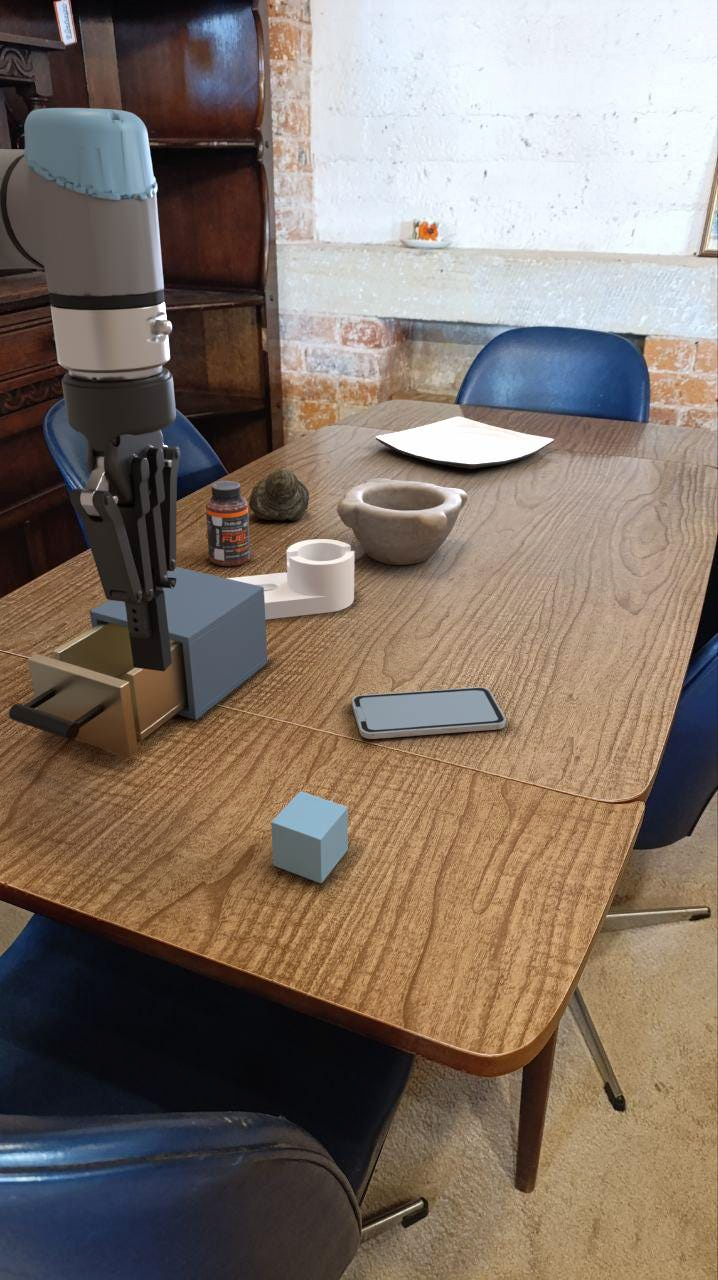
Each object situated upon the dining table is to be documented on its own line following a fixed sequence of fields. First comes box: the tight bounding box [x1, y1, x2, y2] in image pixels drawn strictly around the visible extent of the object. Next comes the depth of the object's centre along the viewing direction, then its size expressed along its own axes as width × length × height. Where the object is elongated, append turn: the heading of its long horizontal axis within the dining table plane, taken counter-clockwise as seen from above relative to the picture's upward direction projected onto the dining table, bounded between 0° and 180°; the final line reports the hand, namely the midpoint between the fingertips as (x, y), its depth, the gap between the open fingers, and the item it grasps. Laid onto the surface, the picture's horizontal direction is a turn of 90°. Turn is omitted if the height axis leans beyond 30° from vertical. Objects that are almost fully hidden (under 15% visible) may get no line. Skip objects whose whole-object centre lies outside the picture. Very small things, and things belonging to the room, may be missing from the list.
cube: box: [270, 790, 349, 884], centre depth 71 cm, size 4×4×4 cm
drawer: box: [8, 621, 188, 759], centre depth 86 cm, size 18×11×8 cm, turn 153°
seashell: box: [248, 469, 310, 522], centre depth 142 cm, size 11×12×10 cm
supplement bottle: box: [205, 480, 251, 567], centre depth 125 cm, size 6×6×11 cm
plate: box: [375, 416, 555, 469], centre depth 178 cm, size 29×29×3 cm
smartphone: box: [351, 686, 507, 740], centre depth 90 cm, size 7×1×15 cm
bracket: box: [226, 538, 355, 621], centre depth 113 cm, size 20×9×7 cm, turn 105°
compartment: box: [89, 566, 268, 721], centre depth 95 cm, size 14×13×10 cm
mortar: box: [336, 477, 469, 566], centre depth 128 cm, size 17×17×9 cm
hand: (152, 664), depth 72 cm, fingers closed
